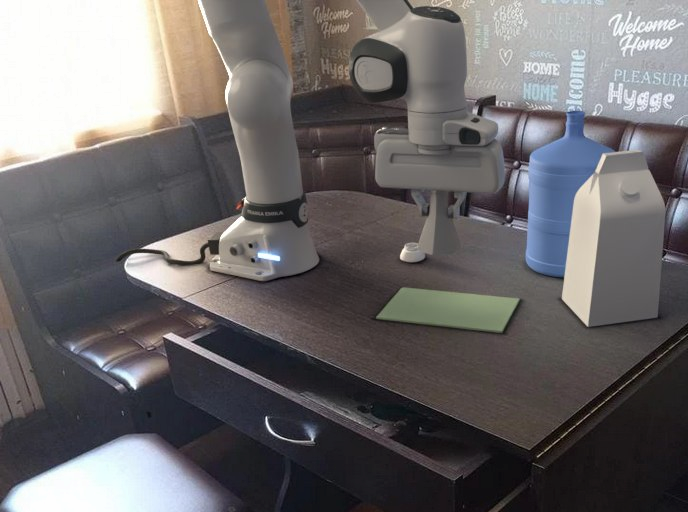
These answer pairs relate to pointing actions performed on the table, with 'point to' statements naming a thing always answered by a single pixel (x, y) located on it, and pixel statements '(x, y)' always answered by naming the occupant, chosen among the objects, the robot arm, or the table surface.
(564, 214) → the water jug
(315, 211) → the table surface
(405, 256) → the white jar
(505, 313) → the placemat
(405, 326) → the table surface
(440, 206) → the flask
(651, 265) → the milk
